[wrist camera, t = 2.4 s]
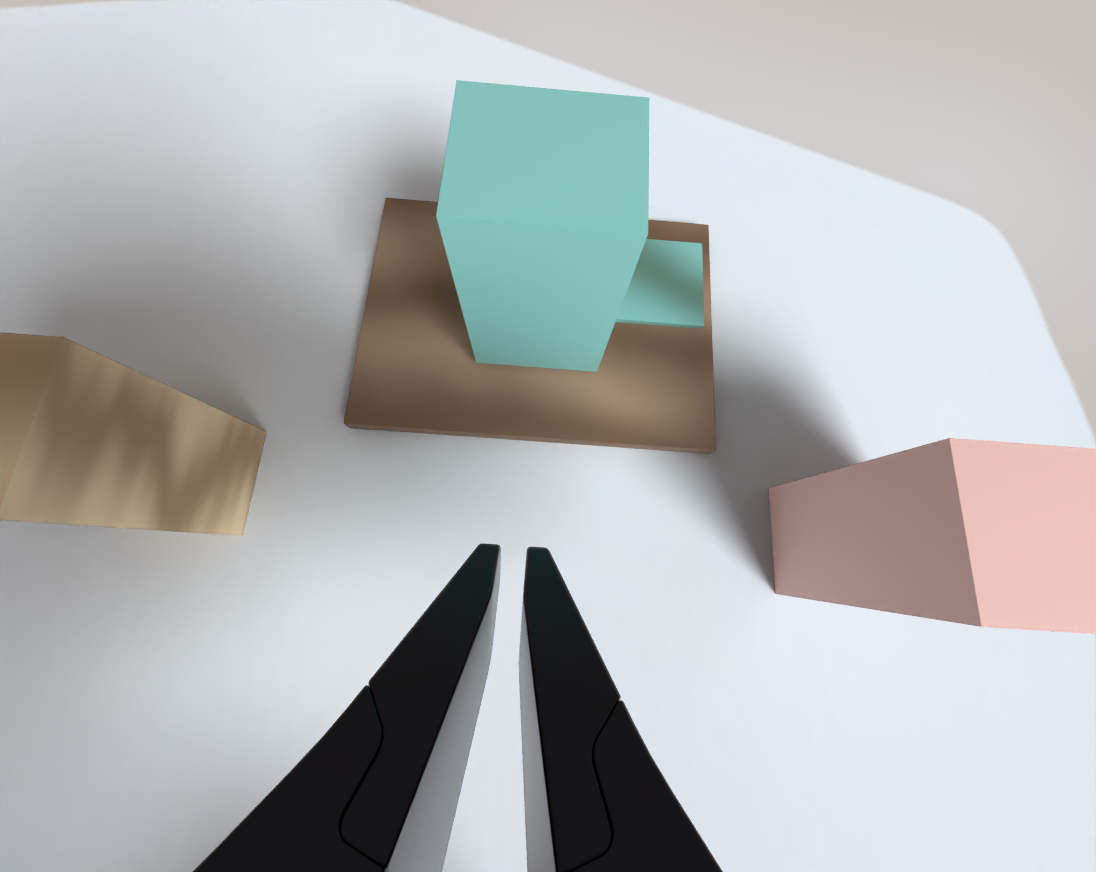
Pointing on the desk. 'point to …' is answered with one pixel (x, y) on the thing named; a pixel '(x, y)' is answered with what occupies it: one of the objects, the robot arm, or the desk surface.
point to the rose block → (947, 535)
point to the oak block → (115, 445)
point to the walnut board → (532, 392)
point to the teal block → (543, 218)
